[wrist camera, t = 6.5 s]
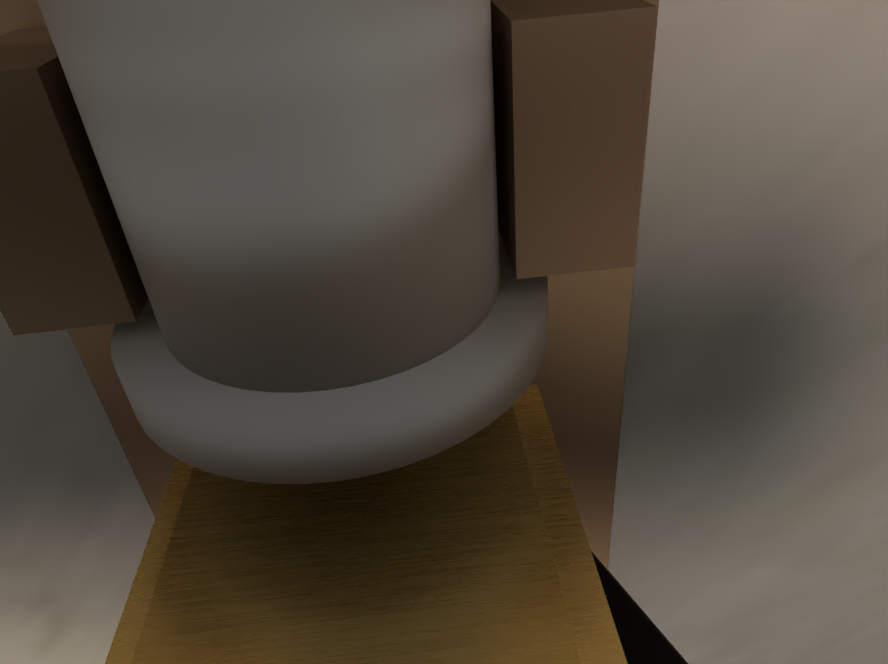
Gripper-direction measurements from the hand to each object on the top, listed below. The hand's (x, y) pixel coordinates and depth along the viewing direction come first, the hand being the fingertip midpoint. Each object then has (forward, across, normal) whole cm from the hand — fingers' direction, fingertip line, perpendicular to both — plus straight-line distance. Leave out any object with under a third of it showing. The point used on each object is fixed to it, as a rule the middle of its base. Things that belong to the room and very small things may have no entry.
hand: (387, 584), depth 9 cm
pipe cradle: (+3, 0, 0) cm, 3 cm away
